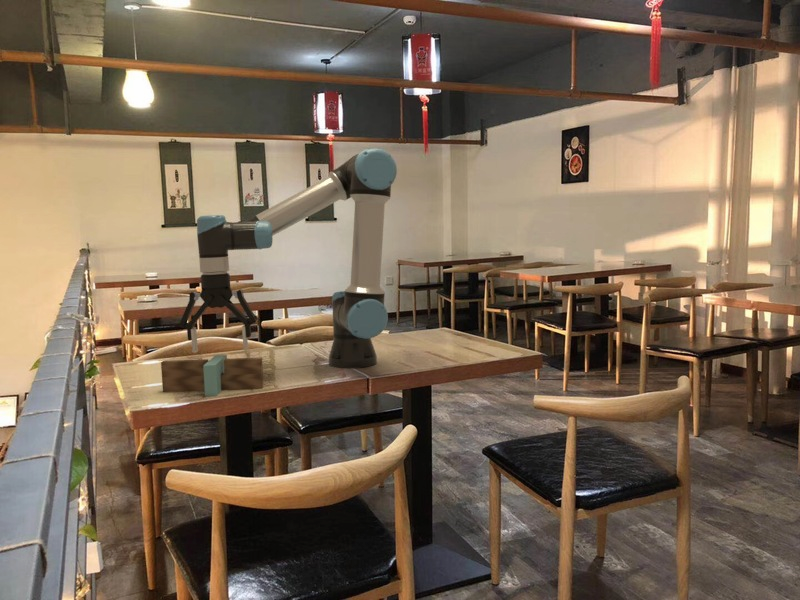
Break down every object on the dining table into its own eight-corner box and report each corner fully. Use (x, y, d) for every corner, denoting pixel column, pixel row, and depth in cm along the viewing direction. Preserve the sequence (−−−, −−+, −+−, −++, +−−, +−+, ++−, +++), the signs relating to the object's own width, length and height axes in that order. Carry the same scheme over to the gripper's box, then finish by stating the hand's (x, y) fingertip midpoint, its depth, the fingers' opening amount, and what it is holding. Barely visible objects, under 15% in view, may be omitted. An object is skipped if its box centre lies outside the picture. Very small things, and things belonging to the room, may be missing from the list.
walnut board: (263, 386, 168) (262, 357, 167) (262, 388, 166) (261, 358, 165) (165, 390, 166) (163, 360, 165) (162, 392, 164) (160, 362, 163)
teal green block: (228, 382, 173) (226, 354, 172) (216, 395, 159) (215, 365, 158) (217, 383, 173) (215, 354, 172) (205, 396, 159) (203, 365, 158)
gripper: (263, 270, 172) (268, 345, 174) (171, 274, 170) (178, 350, 172) (259, 272, 164) (264, 350, 167) (163, 276, 163) (169, 355, 165)
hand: (220, 350), depth 170 cm, fingers open, 13 cm apart
